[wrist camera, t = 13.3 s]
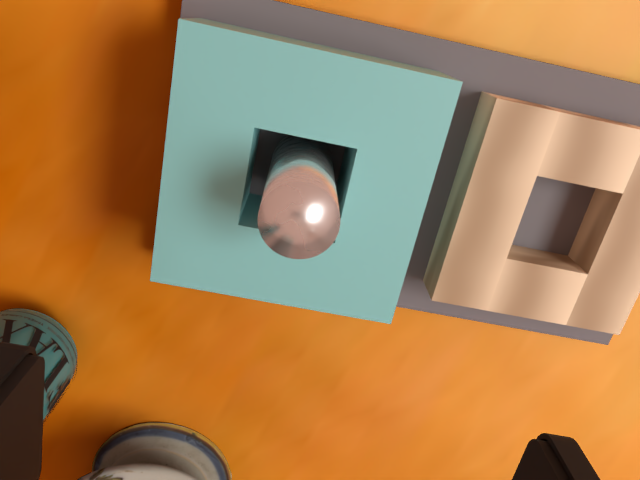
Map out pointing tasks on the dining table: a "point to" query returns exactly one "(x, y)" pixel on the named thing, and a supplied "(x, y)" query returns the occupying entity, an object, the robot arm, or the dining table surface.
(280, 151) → the steel pin
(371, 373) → the dining table surface
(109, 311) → the dining table surface
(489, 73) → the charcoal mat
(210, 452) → the apothecary jar
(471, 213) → the ash mount
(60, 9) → the dining table surface
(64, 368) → the beverage bottle
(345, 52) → the teal dock
